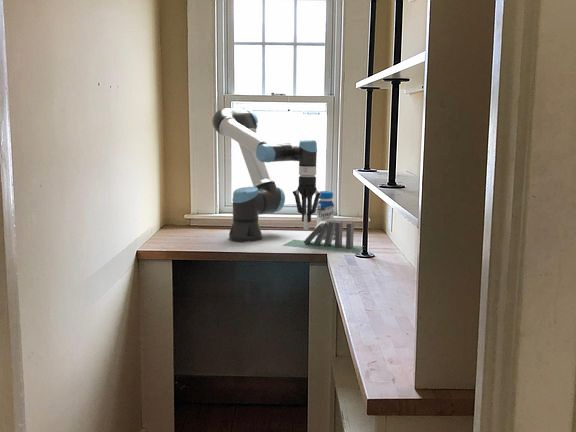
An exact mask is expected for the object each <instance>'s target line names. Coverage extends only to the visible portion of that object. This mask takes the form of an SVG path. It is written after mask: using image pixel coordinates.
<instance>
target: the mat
mask: <svg viewBox="0 0 576 432" xmlns="http://www.w3.org/2000/svg"><path fill="white" fill-rule="evenodd" d="M304 241H305V239H304V240H302V239H301V240H300V239H292V240H290V241H288V242H286V243H285V244H283V245H282V246H283V247H291V248H302V249H308V250H309V249H312V250H319V251H331V252H339V253H349V254H356V255H357V254H360V253H361V252H362V251H363V250H362V245H353V247H352V248H351V249H346V244H343V243H342V246H341V247H340V248H335V242H334V243H333V242H332V243H331V245H330V246H328V247H326V246H324V243H325V241H323V242H321V244H319V245H317V246H316V245H315V244H313V243H314V242H315V240H312V241H311V242H310V243H308V244H307V245H306V244H305V243H304Z"/></svg>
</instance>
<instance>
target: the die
mask: <svg viewBox="0 0 576 432" xmlns="http://www.w3.org/2000/svg"><path fill="white" fill-rule="evenodd" d="M322 223H324V224H325V223H326V222H325V221H320V222H319V224H318V225H317V224H316V226H315V227H314V230H315V229H316V228H317V227H318V226H319V225H320V224H322ZM319 233H320V232H319ZM326 234H327V233H326ZM317 236H318V235H317ZM317 236H316V237H317ZM325 238H326V235H325V237H324V238H323V239H325Z"/></svg>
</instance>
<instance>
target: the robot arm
mask: <svg viewBox="0 0 576 432" xmlns="http://www.w3.org/2000/svg"><path fill="white" fill-rule="evenodd" d="M258 123H259V121H258V117H257V114H256V113H255V112H254V111H253V110H252V109H250V108H244V107H242V108H241V107H240V108H239V107H238V108H236V107H235V108H234V107H233V108H232V107H231V108H229V107H224V108H220V109H218V110H217V111H215V113H214V114H213V116H212V127H213V129H214V130H215V131H216V132H217V133H218V134H219V135H221V136H223V137H228V138H230V139H232V140H233V141H236V142H237V143H238V145H239V148H240V151H241V155H242V156H243V160H244V163H245V165H246V169H247V171H248V173H249V177H250V180H251V183H252V186H245V187H240V188H236V189H234V191H233V193H232V223H231V227H230V230H229V234H228V240H229V241H233V242H238V243H246V242H251V243H252V242H257V241H261V240H263V233H262V229H261V226H260V224H259V215H260V216H261V215H266V214H274V213H278V212H280V211H281V210H282V209H283V208H284V205H285V202H286V196H285V192H284V190H283V189H282V188H280V187H277V184H276V182H275V181H274V180H272V179H271V177H270V175H269V172H268V168H267V166H266V164H265V163H274V162H275V163H276V162H298V175H299V176H298V186H297V189H296V190H293V191H292V194H293V196H294V200H295V203H296V204H295V205H296V208H297V213H299V214H301V221H302V222H303V230H304V231H305V230H306V231H307V230H309V229H310V222H312V215H314V214H316V213H317V209H318V207H317V204H318V202H319V200H320V199H319V197H320V196H321V194H322V193H321V192H320V191H318V188H317V186H316V185H317V177H316V176H317V157H318V156H317V153H318V148H317V147H318V144H317V140H315V139H300V140H299V143H289V142H287V143H271V142H270V141H268V140H266V139H265V138H263V137H262V136H260V135H258V134H257V129H258V125H259V124H258ZM300 195H301V197H300ZM313 196H315V197H314V200H313ZM300 198H301V199H300Z"/></svg>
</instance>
